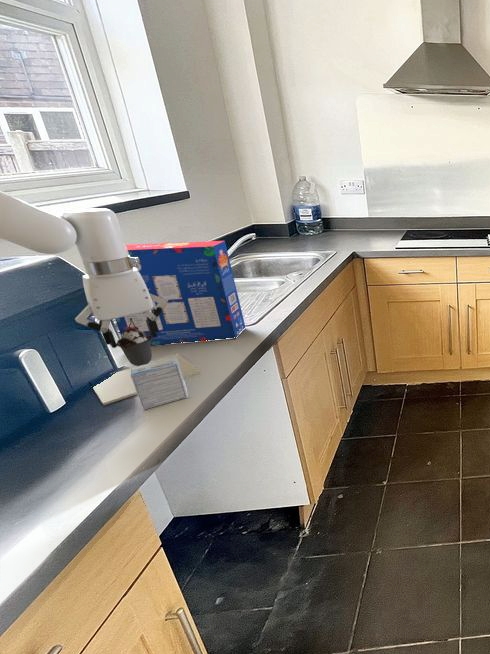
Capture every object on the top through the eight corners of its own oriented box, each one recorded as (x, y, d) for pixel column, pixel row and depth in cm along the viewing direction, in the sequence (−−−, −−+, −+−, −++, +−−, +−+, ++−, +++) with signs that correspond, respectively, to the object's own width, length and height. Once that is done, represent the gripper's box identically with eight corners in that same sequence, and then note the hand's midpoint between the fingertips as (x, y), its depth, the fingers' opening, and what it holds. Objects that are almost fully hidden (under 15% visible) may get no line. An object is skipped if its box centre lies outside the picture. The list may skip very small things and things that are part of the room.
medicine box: (187, 389, 96) (176, 356, 93) (188, 397, 93) (177, 363, 90) (143, 402, 92) (130, 367, 89) (142, 411, 88) (130, 375, 85)
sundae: (157, 369, 104) (139, 313, 99) (169, 376, 101) (151, 319, 96) (124, 380, 99) (103, 322, 94) (135, 388, 96) (115, 328, 91)
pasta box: (245, 328, 130) (224, 240, 121) (236, 339, 123) (213, 246, 114) (142, 337, 124) (111, 245, 115) (125, 348, 117) (91, 251, 108)
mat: (103, 405, 90) (102, 403, 90) (89, 382, 99) (88, 380, 99) (200, 373, 104) (199, 371, 103) (179, 355, 113) (179, 353, 113)
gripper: (153, 257, 99) (174, 325, 105) (49, 272, 86) (79, 349, 93) (163, 261, 95) (184, 333, 101) (55, 278, 82) (86, 359, 88)
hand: (134, 340), depth 97 cm, fingers closed on sundae, 6 cm apart
